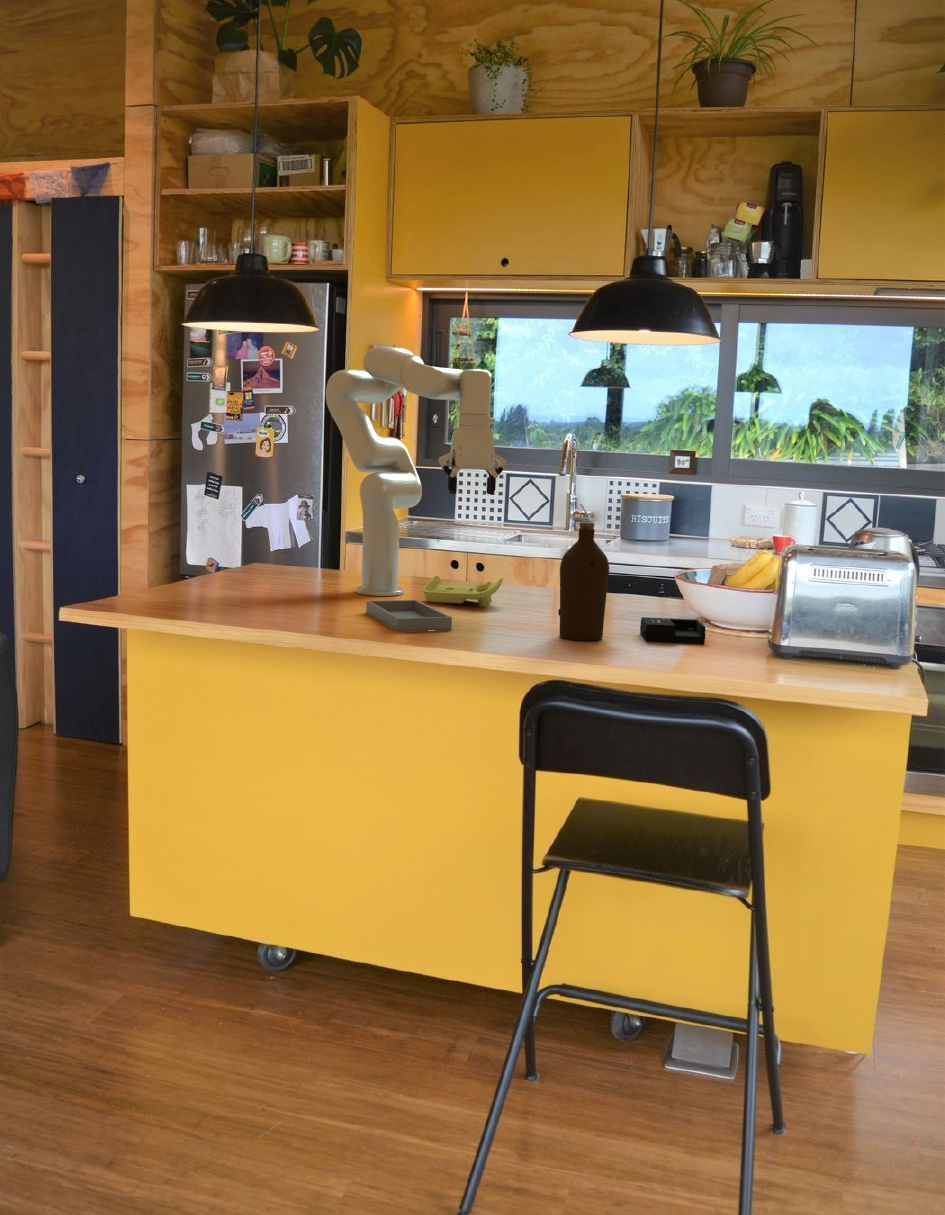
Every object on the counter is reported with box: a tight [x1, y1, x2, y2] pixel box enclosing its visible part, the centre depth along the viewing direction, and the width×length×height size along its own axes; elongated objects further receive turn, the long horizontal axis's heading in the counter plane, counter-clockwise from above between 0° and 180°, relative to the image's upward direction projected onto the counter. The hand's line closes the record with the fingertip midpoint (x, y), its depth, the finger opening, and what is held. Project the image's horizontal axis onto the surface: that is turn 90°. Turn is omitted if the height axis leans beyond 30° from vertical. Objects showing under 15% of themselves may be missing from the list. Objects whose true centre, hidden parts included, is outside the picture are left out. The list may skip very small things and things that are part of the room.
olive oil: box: [557, 521, 610, 642], centre depth 246 cm, size 11×11×25 cm
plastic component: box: [422, 575, 504, 607], centre depth 286 cm, size 20×7×10 cm
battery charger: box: [639, 616, 706, 646], centre depth 251 cm, size 13×10×4 cm
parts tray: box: [365, 599, 453, 633], centre depth 258 cm, size 24×12×3 cm, turn 21°
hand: (471, 493), depth 274 cm, fingers open, 9 cm apart
